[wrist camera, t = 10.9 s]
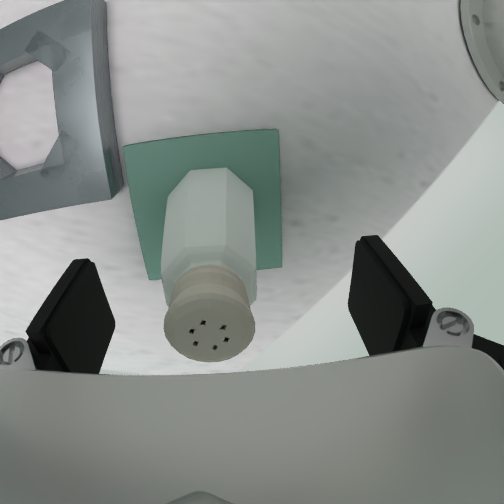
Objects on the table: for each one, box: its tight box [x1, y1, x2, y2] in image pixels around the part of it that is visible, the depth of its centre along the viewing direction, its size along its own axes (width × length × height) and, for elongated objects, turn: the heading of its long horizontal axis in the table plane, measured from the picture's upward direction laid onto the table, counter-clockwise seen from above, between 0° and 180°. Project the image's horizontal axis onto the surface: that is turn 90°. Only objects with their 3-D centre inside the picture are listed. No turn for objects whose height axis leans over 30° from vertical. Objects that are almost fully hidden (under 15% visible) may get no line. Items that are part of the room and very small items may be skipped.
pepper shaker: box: [161, 167, 257, 362], centre depth 14 cm, size 5×5×11 cm
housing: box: [0, 0, 124, 220], centre depth 14 cm, size 12×12×3 cm
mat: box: [122, 129, 282, 280], centre depth 19 cm, size 9×9×1 cm
